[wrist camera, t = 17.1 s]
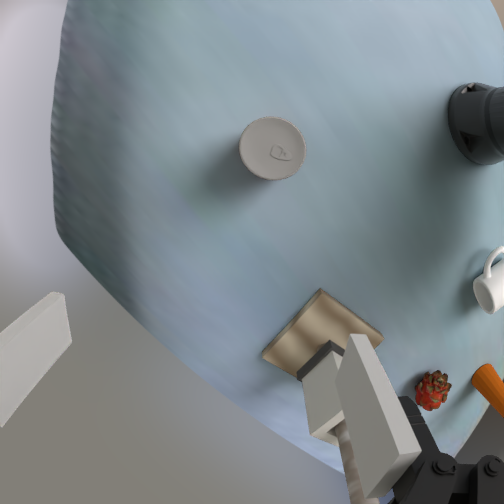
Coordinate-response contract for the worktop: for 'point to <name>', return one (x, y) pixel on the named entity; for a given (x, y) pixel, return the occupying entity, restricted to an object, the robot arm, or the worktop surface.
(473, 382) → the spray bottle
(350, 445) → the pipe stand
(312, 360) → the thin dark grey plate
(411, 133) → the worktop surface
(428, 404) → the dragon fruit
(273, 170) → the canned food
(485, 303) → the mug
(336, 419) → the sleeve
